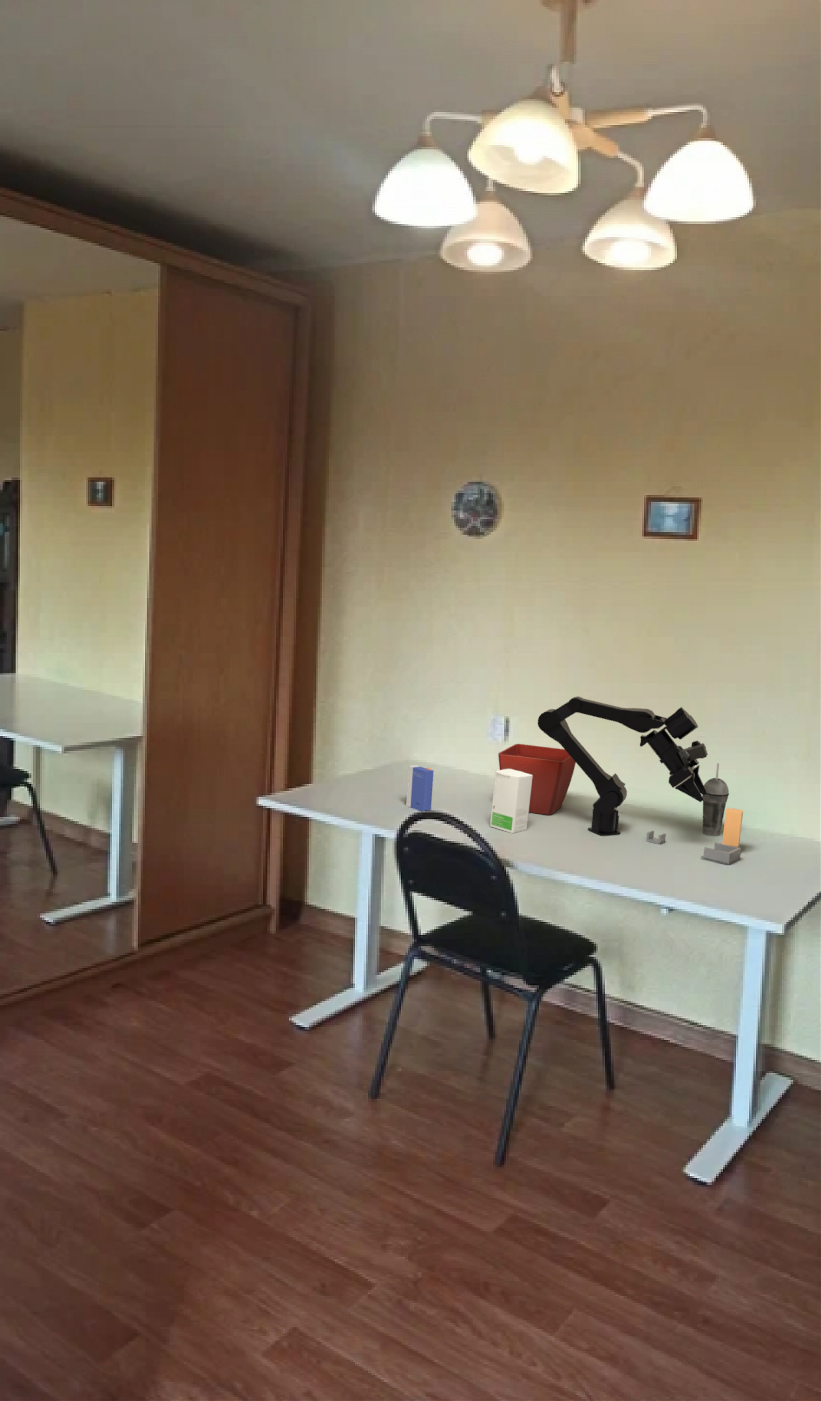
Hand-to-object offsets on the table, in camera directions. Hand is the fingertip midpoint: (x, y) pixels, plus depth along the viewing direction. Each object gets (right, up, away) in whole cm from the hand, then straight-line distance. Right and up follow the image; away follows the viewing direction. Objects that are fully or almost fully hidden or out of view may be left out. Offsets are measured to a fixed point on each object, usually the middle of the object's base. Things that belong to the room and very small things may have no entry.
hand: (703, 797), depth 294 cm
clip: (-12, -12, +3) cm, 17 cm away
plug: (+6, -14, -2) cm, 15 cm away
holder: (+2, -15, -10) cm, 18 cm away
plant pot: (-41, -6, +33) cm, 53 cm away
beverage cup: (+6, -12, +16) cm, 21 cm away
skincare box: (-50, -9, +8) cm, 52 cm away
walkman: (-75, -5, +24) cm, 79 cm away
